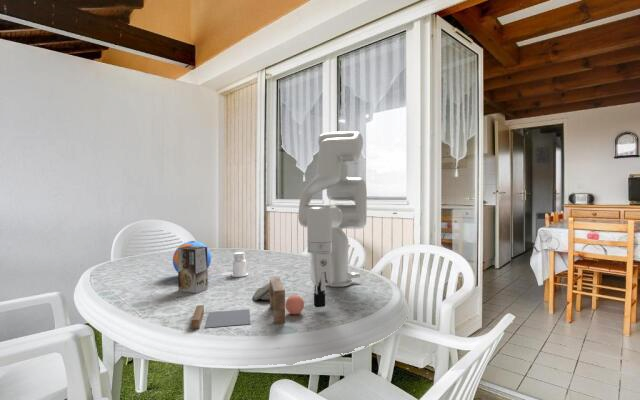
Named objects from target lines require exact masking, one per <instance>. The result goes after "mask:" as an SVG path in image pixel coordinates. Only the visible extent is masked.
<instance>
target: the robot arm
mask: <svg viewBox="0 0 640 400" xmlns="http://www.w3.org/2000/svg"><path fill="white" fill-rule="evenodd" d="M317 141H318V156H317V165H316V172H315V173H316V174H315V177H314V178H313V179H312V180H310V182H309V183H307V185H306V186H305V188H304V189H303V191H302V192H301V194H300V199H299V206H298V215H297V216H298V222H299V225H300V226H301V227H303V228H306V230H307V231H306V233H307V237H306V239H307V242H306V243H307V244H306V245H307V246H306V247H307V250H306V251H307V253H309V254H310V256H309V276H310V277H309V278H310V281H311V282H312V283H313V292H314V293H313V305H314V307H315V308H325V307H326V291H327V289H326V288H327V287H333V288H343V287H347V286H351V285H352V284H353V279H359V278H360V277H361V274H360V272H350V271H349V239H348V238H349V237H348V236H347V235H346V232H344V231H343V230H345V229H350V230H351V229H353V230H354V229H355V230H359V229H363V228H365V226H366V224H367V215H368V214H367V213H368V212H367V211H368V210H367V209H368V208H367V202H368V201H367V183H366V181H365V180H364V178H362V177H356V176H354V177H352V176H351V177H349V176H348V175H349V173H348V169H349V166H348V163H347V162H357V161H358V160H359V158H360V156H361V154H362V150H363V147H364V140H363V135H362V134H361V133H360V132H359V131H331V132H324V133H321V134H320V135H319V136H318V140H317ZM325 190H326V196H327V198H328V200H330V201H332V202H354V203H355V204H341V203H340V204H338V203H337V204H329V205H328V204H325V205H324V204H310V203H311V201H312V199H313V198H314V197H315V196H316V195H317V194H319V193H320V192H323V191H325Z"/></svg>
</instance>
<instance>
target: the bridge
mask: <svg viewBox="0 0 640 400" xmlns="http://www.w3.org/2000/svg"><path fill="white" fill-rule="evenodd" d="M269 283H270V300H269V308H270V310H273V323H274V325H277V324H281V325H282V324H286V306H285V304H286V289H285V287H284V285H283V282H282V280H281V279H280V277H270V278H269Z"/></svg>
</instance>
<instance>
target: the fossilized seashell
mask: <svg viewBox="0 0 640 400" xmlns="http://www.w3.org/2000/svg"><path fill="white" fill-rule="evenodd" d="M252 300H254V301H258V300H262V301H270V282H268V283H266V284H265V285H263V286H261V287H258V289H256V291H255V292H254V294H253V295H252Z"/></svg>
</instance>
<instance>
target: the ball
mask: <svg viewBox="0 0 640 400" xmlns="http://www.w3.org/2000/svg"><path fill="white" fill-rule="evenodd" d="M304 306H305V301H304V299H303V298H302V297H301V296H300V295H296V294H295V295H294V294H292V295H290V296H289V297H287V299H286V300H285V310H286V311H287V312H288V314H291V315H298V314H300V313H302V312H303V310H304Z"/></svg>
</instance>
